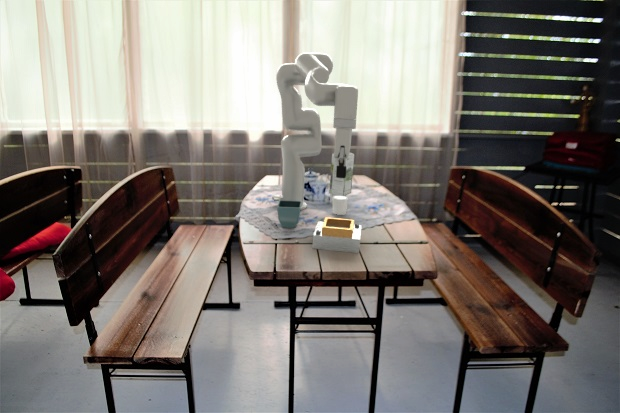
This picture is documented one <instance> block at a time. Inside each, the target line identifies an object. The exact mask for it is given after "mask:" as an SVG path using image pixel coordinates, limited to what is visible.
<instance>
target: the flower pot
mask: <svg viewBox="0 0 620 413" xmlns="http://www.w3.org/2000/svg"><path fill="white" fill-rule="evenodd" d="M276 210H277V219H278V222H279V224H280V226H281V227H282V228H292V229H294V228H296V227H297V226H298V223H299V221H300V220H299V219H300V215H301V211H302V210H301V201H285V200H279V201H278V203H277V206H276Z"/></svg>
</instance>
